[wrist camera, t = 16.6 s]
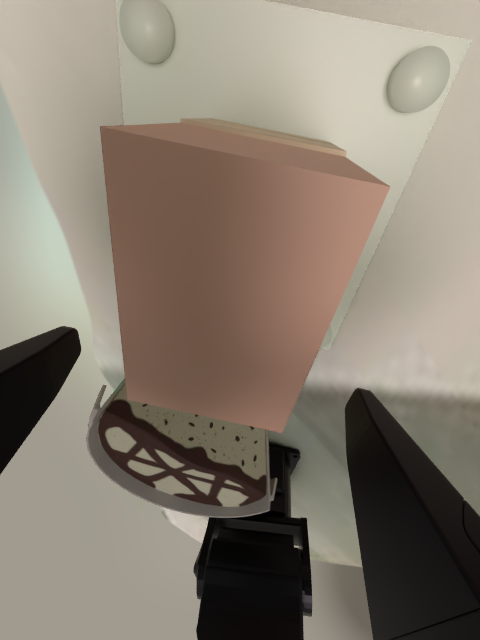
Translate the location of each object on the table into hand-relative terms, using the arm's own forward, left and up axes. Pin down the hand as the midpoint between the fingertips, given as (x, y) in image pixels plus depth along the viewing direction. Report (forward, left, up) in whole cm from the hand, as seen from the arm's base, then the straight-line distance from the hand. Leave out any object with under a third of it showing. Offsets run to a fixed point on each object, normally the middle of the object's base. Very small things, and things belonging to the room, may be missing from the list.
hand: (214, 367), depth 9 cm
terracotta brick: (+2, 0, -5) cm, 5 cm away
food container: (-12, +2, -11) cm, 17 cm away
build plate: (+2, 0, -11) cm, 11 cm away
